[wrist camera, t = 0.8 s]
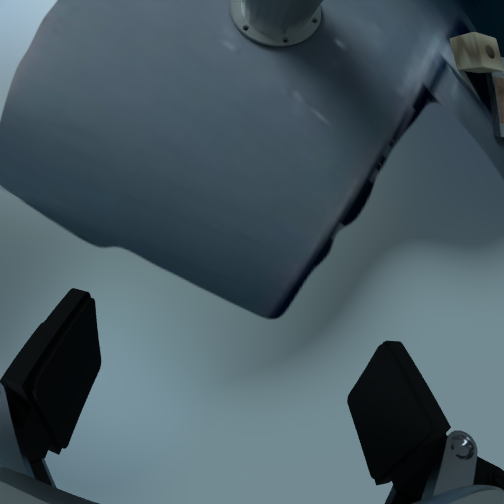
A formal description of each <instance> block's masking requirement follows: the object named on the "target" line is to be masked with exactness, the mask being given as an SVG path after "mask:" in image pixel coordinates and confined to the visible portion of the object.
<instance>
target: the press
mask: <svg viewBox="0 0 504 504" xmlns="http://www.w3.org/2000/svg"><path fill="white" fill-rule="evenodd" d="M501 60H502V65H503V69H504V58H502V57H501ZM485 75H486V80H487V86H488V91H489V97H490V104H491V111H492V119H493V129H494V136H498V137H504V71H500V72H486V73H485Z"/></svg>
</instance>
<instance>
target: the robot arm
mask: <svg viewBox="0 0 504 504" xmlns="http://www.w3.org/2000/svg"><path fill="white" fill-rule="evenodd" d="M322 1H323V0H231V1H230V15H231V19H232V21H233V23H234V25H235V26H236V28H237V29H238V30H239V31H240V32H241V33H242V34H243V35H244V36H246V37H247V38H249V39H250V40H252V41H254V42H257V43H259V44H262V45H266V46H271V47H287V46H292V45H296V44H298V43H301V42H303V41H305V40H306V39H308V38H309V37H310V36H311V35H312V34H313V33H314V32H315V31H316V29H317V28H318V26H319V24H320V21H321V15H322V14H321V7H320V4H321V3H322ZM312 21H314V22H315V23H313V22H312ZM244 29H248V30H247V31H245V30H244ZM283 40H285V41H286V43H285V42H283ZM100 367H101V354H100V347H99V339H98V330H97V319H96V308H95V300H94V299H93V298H91V296H90V293H89V292H86V291H82V290H78V289H75V288H72V289H71V290H70V291H69V292H68V293H67V294H66V296H65V297H64V298H63V299H62V300H61V301H60V303H59V304H58V305H57V306H56V308H55V309H54V310H53V311H52V313H51V314H50V315H49V316H48V318H47V319H46V320H45V321H44V322H43V323H42V324H40V326H39V327H38V328H37V329H36V331H35V332H34V333H33V334H32V336H31V337H30V338H29V340H28V341H27V343H26V344H25V345H24V347H23V348H22V349H21V351H20V352H19V353H18V355H17V356H16V358H15V359H14V360H13V362H12V363H11V365H10V366H9V368H8V369H7V371H6V372H5V374H4V375H3V377H2V378H1V380H0V504H99V503H95V502H92V501H89V500H86V499H84V498H81V497H78V496H75V495H72V494H70V493H67V492H65V491H62V490H60V489H57V488H56V485H55V483H54V481H53V479H52V476H51V474H50V472H49V469H48V467H47V465H46V462H45V459H44V458H45V457H46V454H47V452H48V450H49V451H52V452H54V453H56V454H60V452H61V449H62V448H66V447H67V446H68V444H69V441H70V439H71V436H72V434H73V431H74V429H75V426H76V424H77V421H78V419H79V416H80V414H81V411H82V408H83V406H84V404H85V402H86V399H87V397H88V395H89V392H90V390H91V388H92V385H93V383H94V381H95V379H96V377H97V374H98V372H99V370H100ZM347 402H348V406H349V409H350V412H351V415H352V418H353V421H354V424H355V428H356V430H357V434H358V437H359V440H360V443H361V446H362V450H363V453H364V456H365V459H366V462H367V466H368V469H369V472H370V475H371V477H372V478H373V479H375V483H376V485H380V484H385V483H389V482H390V481H392V483H393V487H392V489H391V491H390V493H389V496H388V498H387V500H386V502H385V504H504V471H503V470H502V469H501V468H499V467H497V466H495V465H493V464H491V463H489V462H487V461H485V460H483V459H481V458H479V457H478V456H477V446H476V443H475V442H474V440H473V439H472V437H471V436H470V435H468V434H467V433H465V432H463V431H454V432H451V434H449V435H448V436H447V435H446V432H447V431H448V430H449V429H450V428H451V427H450V425H449V423H448V421H447V419H446V417H445V416H444V414H443V412H442V410H441V408H440V407H439V405H438V403H437V401H436V399H435V397H434V396H433V394H432V392H431V390H430V389H429V387H428V385H427V383H426V382H425V380H424V378H423V377H422V375H421V373H420V372H419V370H418V368H417V367H416V365H415V363H414V362H413V360H412V358H411V357H410V355H409V354H408V352H407V350H406V349H405V347H404V346H403V344H402V343H401V342H399V341H385V342H383V344H382V345H380V346H379V347H378V348H377V350H376V352H375V353H374V355H373V357H372V358H371V360H370V362H369V363H368V365H367V367H366V368H365V370H364V372H363V373H362V375H361V377H360V378H359V380H358V381H357V383H356V384H355V386H354V387H353V389H352V390H351V392H350V394H349V395H348V400H347Z"/></svg>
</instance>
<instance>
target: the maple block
mask: <svg viewBox="0 0 504 504" xmlns="http://www.w3.org/2000/svg"><path fill="white" fill-rule="evenodd" d="M450 42H451V46H452V50H453V54H454V58H455V62H456V66H457V70H461V71H468V72H474V73H486V72H500V71H504V69H503V65H502V60H501V56H500V52H499V48H498V45H497V41H496V38H493V37H490V36H486V35H483V34H480V33H476V32H472V33H468V34H464V35H460V36H457V37H453V38H450Z"/></svg>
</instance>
